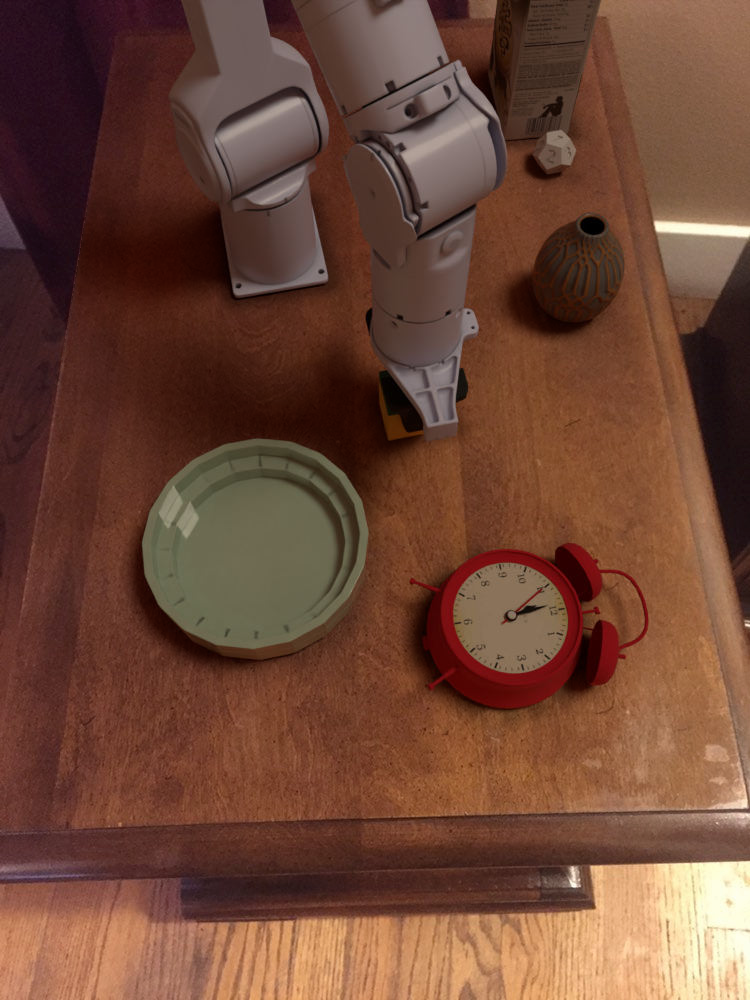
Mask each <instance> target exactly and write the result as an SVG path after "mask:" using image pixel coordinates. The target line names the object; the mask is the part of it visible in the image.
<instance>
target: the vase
mask: <svg viewBox="0 0 750 1000" xmlns="http://www.w3.org/2000/svg"><path fill="white" fill-rule="evenodd" d="M625 264H626V263H625V255H624V250H623V248H622V244H621V243H620V240H619V239H618V237H617V236H616V234H615V233H614V232H613V231H612V229H611V228H610V224H609V221H608V220H607V219H606V218H605V216H603V215H602V214H600V213H596V212H587V213H583V214H581V215H579V217H578V218H577V219H575V220H574V221H571V222H568V223H565V224H564V225H562V226H560V227H558V228H556V230H554V231H553V232H552V233H551V234H550V235H549V236H548V237H547V238H546V239H545V241H544V242H543V244H542V245H541V247H540V248H539V250H538V252H537V255H536V257H535V261H534V264H533V269H532V289H533V293H534V295H535V299H537V302H538V304H539V306H540V307H541V308H542V310H543V311H545V312H546V313H547V314H548V315H549V316H551V317H553V318H554V319H556V320H559V321H560V322H566V323H581V322H586V321H589V320H591V319H594V318H596V317H597V316H599V315H600V314H602V313H603V312H604V311H605V310H606V309H607V308H608V307H609V306H610V305H611V304H612V302H613V301H614V300H615V298H616V296H617V295H618V293H619V290H620V289H621V286H622V283H623V280H624V275H625Z"/></svg>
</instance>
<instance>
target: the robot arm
mask: <svg viewBox="0 0 750 1000" xmlns="http://www.w3.org/2000/svg"><path fill="white" fill-rule="evenodd" d="M290 1H291V5H292V7H293V9H294V11H295V12H296V15H297V17H298V20H299V22H300V24H301V27H302V30H303V32H304V34H305V36H306V39H307V41H308V43H309V46H310V48H311V51H312V52H313V55H314V57H315V60H316V61H317V64H318V66H319V68H320V71H321V73H322V75H323V79H324V80H325V83H326V86H327V87H328V90H329V92H330V94H331V96H332V99H333V101H334V103H335V106H336V108H337V111H338V113H339V115H340V117H341V118H342V120H341V121H342V123H343V124H344V126H345V129H346V131H347V134H348V136H349V138H350V140H351V141H352V142H353V143H354V144H353V145H351V147H350V148H349V149H348V152H347V155H346V154H342V162H343V163H342V164H343V169H344V173H345V177H346V180H347V184H348V186H349V189H350V191H351V194H352V196H353V198H354V201H355V204H356V207H357V213H358V223H359V228H360V229H361V231H362V237H363V238H364V240H365V241H366V242H367V243H368V244H369V247H370V248H369V249H370V278H371V283H370V285H371V287H370V288H371V307H370V308H368V310H367V311H366V313H365V316H364V318H365V323H366V327H367V332H368V336H369V340H370V345H371V349H372V351H373V353H374V355H375V356H376V358H377V359H378V360H379V361H380V363H381V364H382V366H383V367H384V368H385V370H387V371H388V372H389V374H390V375H391V377H385V378H381V385H382V389H383V393H384V397H385V401H386V404H387V406H388V407H389V409H390V411H391V412H393V413H397V414H399V415H400V417H401V420H402V424H403V427H404V429H405V430H406V432H408V433H411V432H416V431H421V430H423V433H424V434H423V437H424V441H425V442H426V443H428V442H434V441H441V440H445V439H449V438H454V437H455V438H456V437H457V433H458V426H459V418H458V417H459V416H458V413H457V407H456V405H457V403H460V402H461V401H464V400H465V399H466V398H467V396H468V393H469V383H468V380H467V376H466V373H465V369H464V367H461V366H460V365H461V359H462V350H463V345H464V343H465V342H466V341H469V340H473V339H476V338H477V336H478V335H479V323H478V319H477V316H476V314H475V312H474V310H473V309H471V308H467V307H466V308H465V302H466V294H467V289H468V288H467V287H468V280H469V271H470V264H471V255H472V249H473V240H474V233H475V225H476V217H477V210H478V209H477V208H478V203H479V202H480V201H483V200H485V199H486V198H488V197H489V196H490V194H492V192H495V191H497V190H498V189H499V188H500V187H501V186H502V185H503V183H504V181H505V179H506V176H507V172H508V151H507V150H508V149H507V145H506V140H504V136H503V133H502V129H501V125H500V121H499V118H498V114H497V111H496V109H494V107H493V105H492V103H491V102H490V101H489V99H488V98H487V96H486V95H485V94H484V92H482V91H481V90H480V89H479V88H478V87H477V86H476V85H475V84H474V83H473V81H472V79H471V77H470V75H469V73H468V71H467V68H466V66H463V64H462V61H461V60H459V59H456V60H455V61H453V62H451V63H450V59H449V56H448V54H447V51H446V48H445V46H444V43H443V40H442V37H441V35H440V32H439V29H438V26H437V23H436V21H435V18H434V16H433V13H432V10H431V7H430V5H429V2H428V0H290ZM180 2H181V5H182V7H183V11H184V15H185V18H186V21H187V25H188V28H189V31H190V35H191V39H192V42H193V45H194V48H195V50H194V51H193V53H192V55H191V57H190V58H189V59H188V62H187V63H186V65H185V66H184V67H183V69H182V71H181V72H180V73H179V76H178V77H177V79H176V80H175V82H174V84H173V85H172V86H171V88H170V90H169V92H168V96H167V97H168V99H169V102H170V105H169V108H170V112H171V115H172V119H173V123H174V129H175V130H174V137H175V142H176V145H177V149H178V151H179V154H180V156H181V159H182V161H183V163H184V165H185V168H186V169H187V172H188V173H189V175H190V177H191V179H192V180H193V182H194V184H195V185H196V186H197V188H198V189H199V190H200V192H201V193H202V194H203V195H204V196H205V197H206V198H207V199H208V200H209V201H211V202H215V203H216V204H218V207H219V210H220V219H221V226H222V231H223V238H224V244H225V250H226V257H227V262H228V269H229V275H230V281H231V286H232V287H231V288H232V293H233V296H234V297H235V298H237V299H242V298H247V297H253V296H261V295H266V294H271V293H278V292H283V291H288V290H289V291H290V290H295V289H301V288H307V287H311V286H312V287H313V286H318V285H324V284H326V283H327V282H328V281H329V274H328V268H327V264H326V260H325V256H324V252H323V246H322V243H321V238H320V234H319V230H318V229H319V228H318V224H317V221H316V216H315V212H314V208H313V204H312V203H313V202H312V196H311V195H312V193H311V187H310V186H311V185H310V178H309V176H310V175H311V174H313V173H314V172H315V171H317V165H316V164H317V163H316V157H317V156H318V155H322V154H323V153H324V152H326V150H327V148H328V146H329V145H328V144H329V137H330V124H329V118H328V115H327V111H326V108H325V105H324V103H323V101H322V98H321V96H320V94H319V92H318V89H317V86H316V83H315V80H314V76H313V72H312V68H311V66H310V64H309V62H308V61H307V60H306V59H305V57H304V56H303V55H302V54H301V53H300V51H298V50H297V49H296V48H295V47H294V46H292V45H291V44H289V43H287V41H284V40H282V39H279V38H276V37H273V36H271V32H270V28H269V24H268V19H267V14H266V9H265V4H264V0H180ZM442 66H443V67H442ZM344 116H345V117H344Z"/></svg>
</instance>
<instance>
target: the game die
mask: <svg viewBox="0 0 750 1000" xmlns="http://www.w3.org/2000/svg"><path fill="white" fill-rule="evenodd" d="M536 141H537V142H536V145H535V146H534V150H533V153H532V156H533V158H534V160H535V161H536V163H537V165H538V166H539V167H540V168H541V170H542V171H543V172H544V173H545V174H546V175H552V174H558V173H563V172H564V171H566V170H567V169H568V168H570V167H571V165H572V163H573V161H574V157H575V156H576V152H577V149H576V147H575V145H574V143H573V141H572V139H571V138H570V137H569V136H568V134H567V135H566V134H565V133H564V132H563V131H562V130H558V131H552V132H547V133H546V134H544V135H543V136H542V137H538V138H537V140H536Z"/></svg>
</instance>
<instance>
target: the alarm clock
mask: <svg viewBox="0 0 750 1000" xmlns="http://www.w3.org/2000/svg"><path fill="white" fill-rule="evenodd" d="M554 559H555V563H556V566H555V565H554V564H553V563H552V562H550V561H549V560H547V559H545V558H544V557H542V556H540V555H537V554H535V553H532V552H529V551H526V550H522V549H515V548H514V549H513V548H498V549H492V550H487V551H485V552H482V553H478V554H476V555H475V556H473V557H471V558H469V559H468V560H466V561H465V562H463V563H462V564H461V565H459V566H458V567H457V568H456V569H455V570H454V571H453V572H452V573H451V574H450V575H448V577H446V579H445V580H444V581H443V582H442V583H441V584H440V585H439V587H436V586H433V585H430V584H426V583H423V582H420V581H417V580H416V578H414V577H411V578H410V579H409V582H408V583H409V584H410V585H412V586H413V585H417V586H419V587H422V588H423V589H426V590H428V591H431V592H433V593H435V594H434V596H433V598H432V600H431V603H430V606H429V609H428V614H427V619H426V635H425V636H424V635H423V636H422V638H421V639H422V644H423V650H424V652H426V651H430V655H431V656H432V659H433V662H434V663H435V665H436V668H437V669H438V670H439V672H440V674H441V676H440V677H438V678H437V679H436V680H434V681H433V682H429V683H427V686H426V687H427V689H428V690H429V691H434V690H435V686H437V685H438V684H440V683H441V682H442V681H444V680H446V681H447V682H448V683H449V684H450V685H451V686H452V687H453V688H454V689H455V690H456V691H457V692H459V693H461V694H462V695H463V696H464V697H466V698H469V699H470V700H472V701H474V702H475V703H479V704H482V705H483V706H487V707H491V708H496V709H497V708H498V709H520V708H526V707H531V706H533V705H537V704H539V703H540V702H542V701H545V700H546V699H548V698H550V697H551V696H554V694H556V693H557V692H558V691H559V690H560V689H561V688H563V686H564V685H565V684H566V683H567V681H568V680H569V679H570V677H571V676H572V674H574V671H575V669H576V668H577V664H578V662H579V659H580V656H581V652H582V647H583V646H582V645H583V631H584V630H588V631H591V635H590V638H589V644H588V649H587V657H586V681H587V683H588V684H589V685H591V686H602V685H606V684H607V683H608V682H609V681H610V680H611V679H612V678H613V676H614V674H615V672H616V669H617V666H618V662H619V660H620V659H621V660H626V659H627V655H626V654H622V653H620V652H621V650H623V649H626V648H630V647H632V646H634V645H635V644H637V643H639V642H641V640H642V639H644V638H645V636H646V633H647V632H648V629H649V622H650V620H649V611H648V607H647V602H646V599H645V597H644V594H643V592H642V590H641V588H640V586H639V584H638V583H637V581H636V580H635V579H634V578H633V577H632V576H631V575H630V574H628V573H627V572H625V571H621V570H619V569H600V568H599V566H598V564H599V559H598V558H595V559H594V558H593V557H592V555H591V554H590V553H589V552H588V551H587V550H586V549H585V548H584V547H583V546H581V545H580V544H578V543H575V542H566V543H563V544H561V545H558V546H557V547H556V549H555V550H554ZM602 574H614V575H615V574H616V575H619V576H622V577H624V578H625V579H626V580H628V581H629V582H630V583H631V584H632V586H633V587H634V588H635V590H636V592H637V594H638V598H639V599H640V602H641V606H642V609H643V617H644V626H643V629H642V630H641V633H640V634H639V635H638V636H637V637H636V638H634V639H633V640H631V641H629V642H626V643H623V644H621V645H620V636H619V633H618V629H617V628H616V626H615V625H614V624H613V623H612V622H610V621H609V620H608V621H607V620H605V619H597V621H596V622H595V624H594V626H593V628H591V627H586V626H584V615H585V614H586V615H587V614H593V613H594V614H595V615H600V614H601V611H600V607H599V606H597V605H596V606H594V607H593V609H588V610H583V609H582V605H581V602H585V603H590V602H592V601H594V600H595V599H596V598H597V597H598V596H600V594H601V592H602V590H603V576H602ZM580 600H581V602H580Z"/></svg>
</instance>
